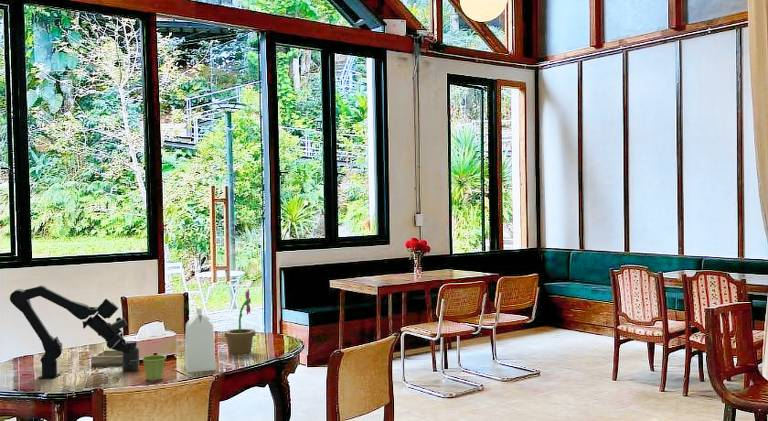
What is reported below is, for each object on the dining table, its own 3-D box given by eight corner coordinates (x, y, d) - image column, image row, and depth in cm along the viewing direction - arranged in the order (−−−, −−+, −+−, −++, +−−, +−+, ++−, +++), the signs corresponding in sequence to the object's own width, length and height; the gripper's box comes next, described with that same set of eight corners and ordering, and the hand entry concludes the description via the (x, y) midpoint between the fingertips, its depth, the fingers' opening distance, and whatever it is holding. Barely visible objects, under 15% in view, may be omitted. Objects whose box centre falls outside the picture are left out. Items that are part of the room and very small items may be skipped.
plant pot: (169, 376, 297) (169, 354, 297) (163, 381, 287) (162, 359, 287) (146, 376, 297) (145, 355, 296) (139, 382, 287) (138, 360, 287)
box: (123, 365, 318) (123, 356, 318) (91, 365, 317) (91, 356, 317) (134, 358, 332) (133, 349, 332) (103, 359, 331) (103, 350, 331)
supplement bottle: (133, 372, 305) (133, 343, 304) (119, 371, 306) (118, 343, 306) (142, 368, 311) (141, 340, 311) (128, 367, 313) (127, 340, 313)
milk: (184, 366, 314) (183, 306, 314) (211, 364, 318) (210, 304, 318) (187, 372, 303) (186, 310, 302) (215, 369, 307) (214, 308, 306)
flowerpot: (258, 354, 337) (257, 290, 336) (227, 357, 331) (226, 291, 331) (252, 348, 350) (251, 286, 350) (222, 351, 345) (221, 288, 344)
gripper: (114, 315, 298) (143, 340, 301) (115, 309, 315) (142, 332, 319) (94, 336, 295) (124, 360, 299) (96, 328, 313) (124, 352, 317)
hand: (129, 350), depth 308 cm, fingers open, 9 cm apart
